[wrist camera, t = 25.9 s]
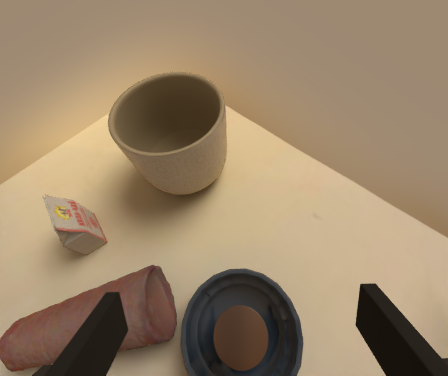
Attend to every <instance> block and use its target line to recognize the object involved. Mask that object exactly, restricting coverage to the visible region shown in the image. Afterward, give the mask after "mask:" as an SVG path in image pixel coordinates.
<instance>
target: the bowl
mask: <svg viewBox="0 0 448 376" xmlns="http://www.w3.org/2000/svg"><path fill="white" fill-rule="evenodd" d="M236 305H243V306H247V307H250V308H252V309H253V310H255V311H256V312H257V313H258V314H259V315H260V316H261V317H262V319H263V321H264V322H265V325H266V327H267V331H268V347H267V351H266V354H265V356H264V358H263V359H262V361H261V362H260V363H259V364H258V365H257V366H255V367H254V368H252V369H250V370H246V371H238V370H234V369H232V368H230V367H228V366H227V365H226V364H224V362H223V361H222V360H221V359H220V358H219V356H218V354H217V352H216V349H215V346H214V339H213V334H214V327H215V324H216V322H217V320H218V318H219V316H220V315H221V314H222V313H223V312H224V311H225V310H226V309H228V308H230V307H232V306H236ZM181 348H182V353H183V357H184V362H185V367H186V369H187V371H188V373H189V375H190V376H297V374H298V371H299V369H300V367H301V360H302V351H303V336H302V330H301V324H300V320H299V317H298V314H297V312H296V310H295V308H294V305H293V303H292V301H291V299H290V298H289V297H288V295H287V294H286V293H285V292H284V291H283V289H282V288H281V287H280V286H279V285H278V284H277V283H276V282H274V281H273V280H271V279H270V278H268V277H267V276H265V275H264V274H262V273H259V272H255V271H252V270H249V269H229V270H226V271H223V272H221V273H218V274H216V275H213V276H212V277H211V278H209V279H208V280H207V281H206V282H205V283H203V284H202V285H201V286H200V287H199V288H198V289H197V291H196V292H195V294H194V295H193V297H192V298H191V300H190V301H189V303H188V306H187V309H186V312H185V315H184V318H183V321H182V333H181Z"/></svg>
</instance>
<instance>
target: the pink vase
mask: <svg viewBox="0 0 448 376" xmlns="http://www.w3.org/2000/svg"><path fill="white" fill-rule="evenodd" d="M106 292H119V293H120V297H121V301H122V305H123V309H124V313H125V318H126V322H127V326H128V332H127V334H126V336H125V338H124V340H123V342H122V344H121V346H120V348H119V350H118V352H119V351H121V350H129V349H132V348H138V347H144V346H147V345H148V344H157V343H162V342H166V341H169V340H170V339H171V338H172V337H173V336H174V332H175V328H176V325H177V321H176V316H177V315H176V310H175V305H174V297H173V295H172V293H171V288H170V284H169V283H168V282H167V281H166V278H165V276H164V274H163V272H162V269H161V267H159V266H154V265H151V266H148V267H146V268H144V269H141V270H139V271H137V272H134V273H131V274H128V275H126V276H124V277H121V278H119V279H117V280H115V281H111V282H108V283H106V284H104V285H102V286H100V287H98V288H94V289H91V290H88V291H86V292H83V293H81V294H79V295H78V296H75V297H73V298H69V299H67V300H65V301H63V302H61V303H59V304H55V305H53V306H50V307H48V308H46V309H44V310H41V311H38V312H36V313H33V314H31V315H29V316H27V317H24V318H21V319H19V320H18V321H16V322H14V323H13V325H12V326H11V327H10V328H9V329H8V330H7V331H6V332H5V333H4V334H3V336H2V337H1V339H0V359H1V361H2V362H3V363H4V365H5V366H6V368H7V369H8V370H10V371H12V372H13V371H20V370H24V369H27V368H33V367H39V366H43V365H48V364H53V363H54V362H55V360H56V359H57V358H58V356H59V355H60V354H61V352H62V351H63V350H64V348H65V347H66V346H67V344H68V343H69V342H70V340H71V339H72V337H73V336H74V335H75V333H76V332H77V331H78V329H79V328H80V327H81V325H82V324H83V323H84V321H85V320H86V319H87V317H88V316H89V315H90V313H91V312H92V311H93V309H94V308H95V307H96V305H97V304H98V302H99V301H100V300H101V298H102V297H103V296H104V294H105V293H106Z"/></svg>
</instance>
